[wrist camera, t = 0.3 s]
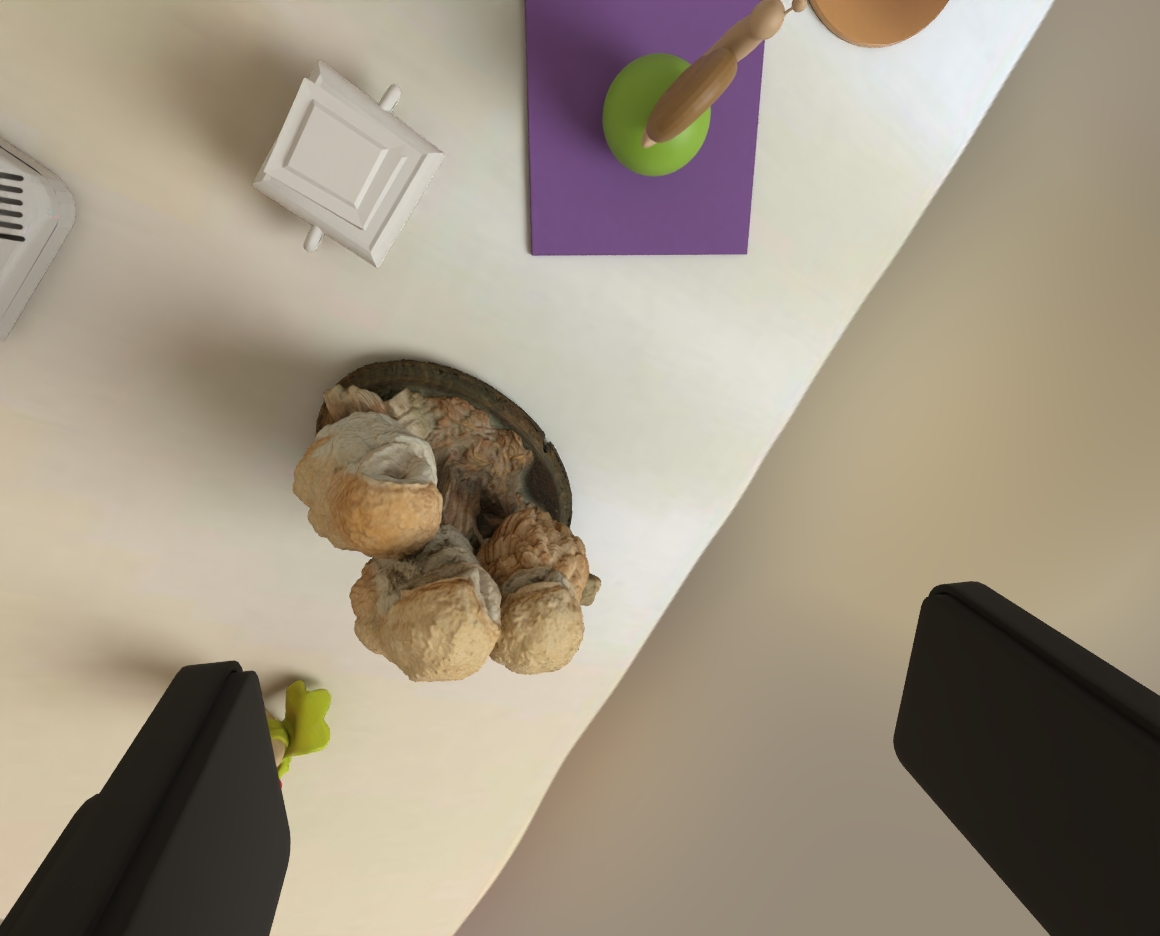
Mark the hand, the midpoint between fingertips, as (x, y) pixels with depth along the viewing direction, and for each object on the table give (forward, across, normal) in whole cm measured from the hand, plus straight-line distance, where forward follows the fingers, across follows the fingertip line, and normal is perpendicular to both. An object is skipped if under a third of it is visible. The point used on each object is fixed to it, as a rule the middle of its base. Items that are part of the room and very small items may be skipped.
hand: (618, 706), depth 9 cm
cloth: (+31, -9, -16) cm, 35 cm away
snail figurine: (+30, -9, -13) cm, 34 cm away
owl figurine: (+31, +2, +7) cm, 32 cm away
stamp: (+31, +6, -10) cm, 33 cm away
